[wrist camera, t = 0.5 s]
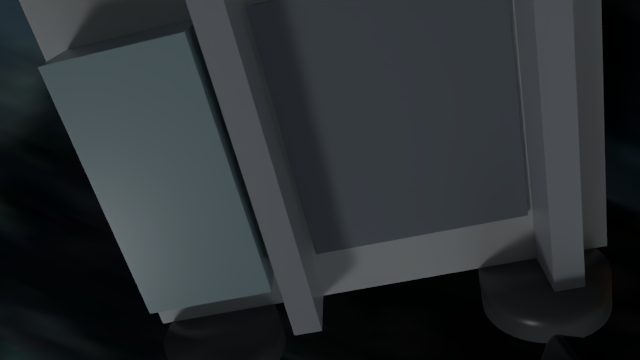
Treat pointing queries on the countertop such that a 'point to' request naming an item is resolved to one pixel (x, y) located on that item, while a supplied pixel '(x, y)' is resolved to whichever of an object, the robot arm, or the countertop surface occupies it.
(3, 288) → the countertop surface
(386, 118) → the chassis
